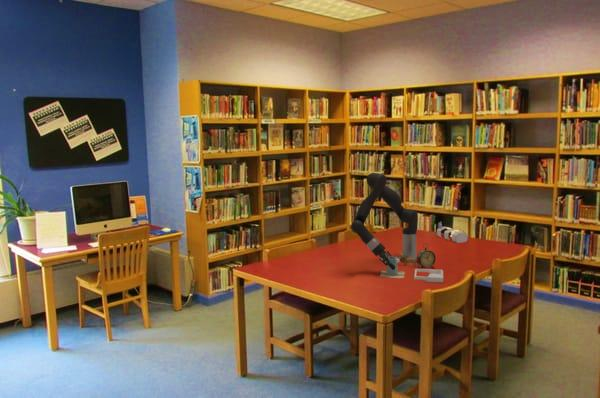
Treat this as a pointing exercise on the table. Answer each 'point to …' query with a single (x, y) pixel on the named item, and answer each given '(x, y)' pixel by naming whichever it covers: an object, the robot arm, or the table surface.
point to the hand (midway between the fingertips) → (395, 267)
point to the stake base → (399, 275)
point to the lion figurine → (407, 260)
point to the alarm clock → (426, 258)
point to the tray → (430, 275)
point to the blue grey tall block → (395, 262)
